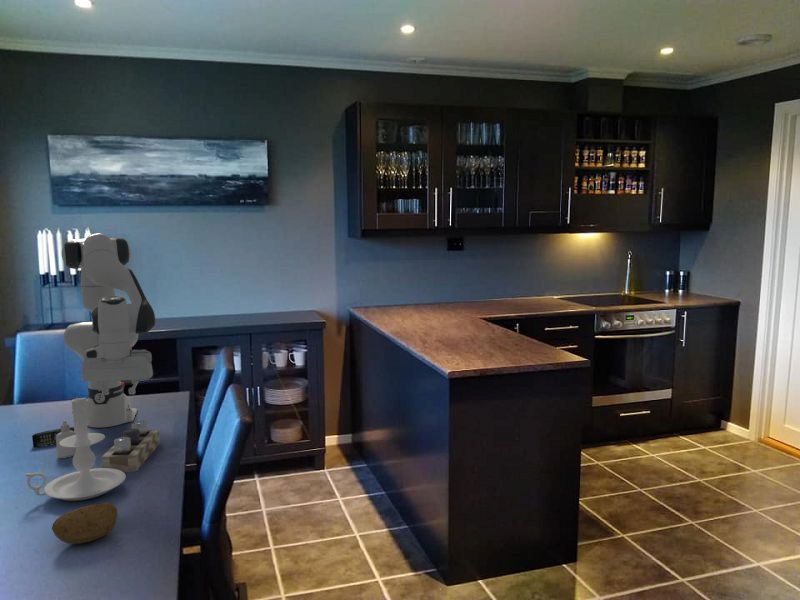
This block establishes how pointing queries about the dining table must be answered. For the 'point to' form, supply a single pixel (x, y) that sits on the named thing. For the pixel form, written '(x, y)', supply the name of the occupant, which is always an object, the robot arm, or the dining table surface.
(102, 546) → the dining table surface
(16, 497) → the dining table surface
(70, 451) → the eye dropper bottle
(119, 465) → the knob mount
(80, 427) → the candlestick
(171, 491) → the dining table surface
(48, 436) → the mobile phone
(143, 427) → the steel knob
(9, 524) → the dining table surface
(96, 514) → the potato
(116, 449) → the steel knob
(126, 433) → the black knob middle
